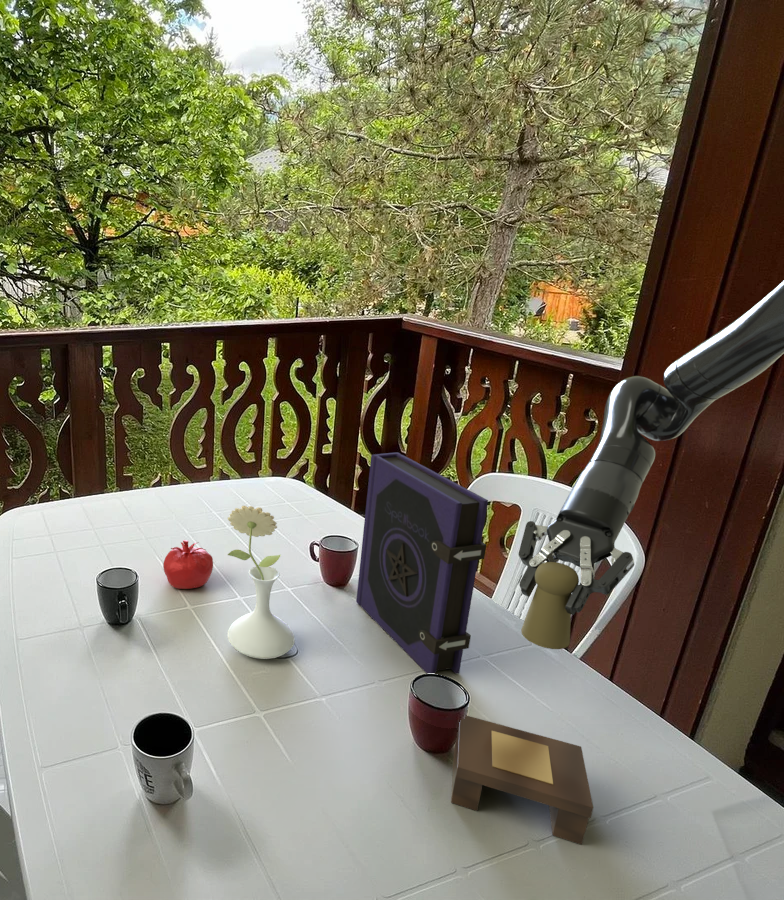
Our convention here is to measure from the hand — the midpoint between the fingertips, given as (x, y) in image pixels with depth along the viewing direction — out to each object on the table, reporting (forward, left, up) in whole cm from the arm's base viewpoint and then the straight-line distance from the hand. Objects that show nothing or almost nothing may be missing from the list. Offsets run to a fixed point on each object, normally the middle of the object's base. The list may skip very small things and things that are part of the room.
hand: (546, 602), depth 87 cm
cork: (-1, -2, -6) cm, 7 cm away
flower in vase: (+41, -1, -19) cm, 45 cm away
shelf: (+2, +16, -19) cm, 25 cm away
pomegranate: (+60, -15, -19) cm, 65 cm away
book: (+18, -14, -19) cm, 30 cm away
